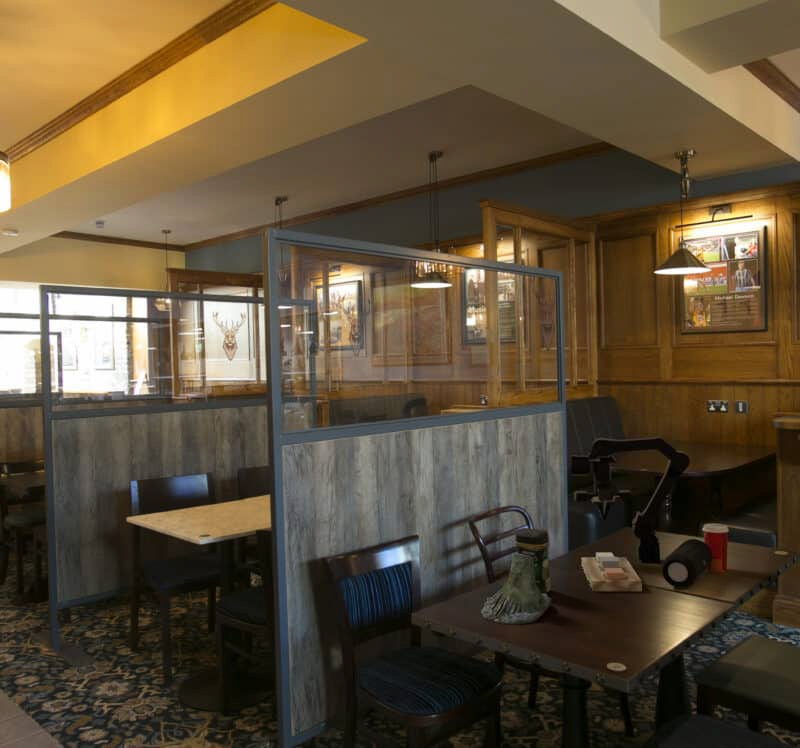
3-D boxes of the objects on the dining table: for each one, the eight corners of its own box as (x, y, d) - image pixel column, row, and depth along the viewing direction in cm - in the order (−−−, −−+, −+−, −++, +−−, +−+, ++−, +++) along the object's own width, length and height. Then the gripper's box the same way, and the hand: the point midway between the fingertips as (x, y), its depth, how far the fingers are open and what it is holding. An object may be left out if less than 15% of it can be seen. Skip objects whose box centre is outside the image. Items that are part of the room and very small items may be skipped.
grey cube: (616, 572, 222) (616, 556, 222) (619, 577, 217) (618, 560, 217) (600, 572, 222) (599, 556, 222) (602, 577, 218) (602, 561, 218)
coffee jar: (513, 592, 210) (510, 529, 210) (525, 585, 216) (522, 524, 216) (542, 597, 204) (540, 533, 204) (554, 590, 210) (552, 527, 210)
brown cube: (622, 584, 213) (621, 568, 213) (625, 589, 208) (624, 572, 208) (605, 584, 214) (604, 568, 214) (607, 589, 209) (606, 572, 209)
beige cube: (612, 567, 231) (611, 552, 231) (614, 572, 226) (614, 556, 226) (596, 567, 231) (595, 552, 231) (598, 572, 226) (598, 556, 226)
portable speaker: (695, 593, 202) (693, 558, 202) (659, 588, 208) (658, 554, 208) (714, 570, 223) (713, 538, 223) (681, 566, 229) (680, 535, 229)
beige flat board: (625, 566, 232) (625, 557, 232) (642, 591, 206) (641, 580, 206) (581, 566, 234) (581, 557, 233) (592, 591, 208) (592, 581, 208)
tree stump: (464, 614, 194) (471, 547, 198) (514, 614, 206) (520, 552, 209) (513, 628, 180) (519, 556, 183) (564, 628, 191) (569, 560, 195)
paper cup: (720, 565, 228) (719, 522, 228) (735, 572, 220) (734, 527, 220) (698, 567, 227) (696, 524, 227) (712, 574, 219) (711, 529, 219)
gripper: (576, 479, 234) (578, 526, 234) (635, 478, 232) (637, 525, 232) (573, 474, 245) (575, 519, 245) (628, 473, 243) (630, 518, 243)
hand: (604, 521), depth 241 cm, fingers closed
